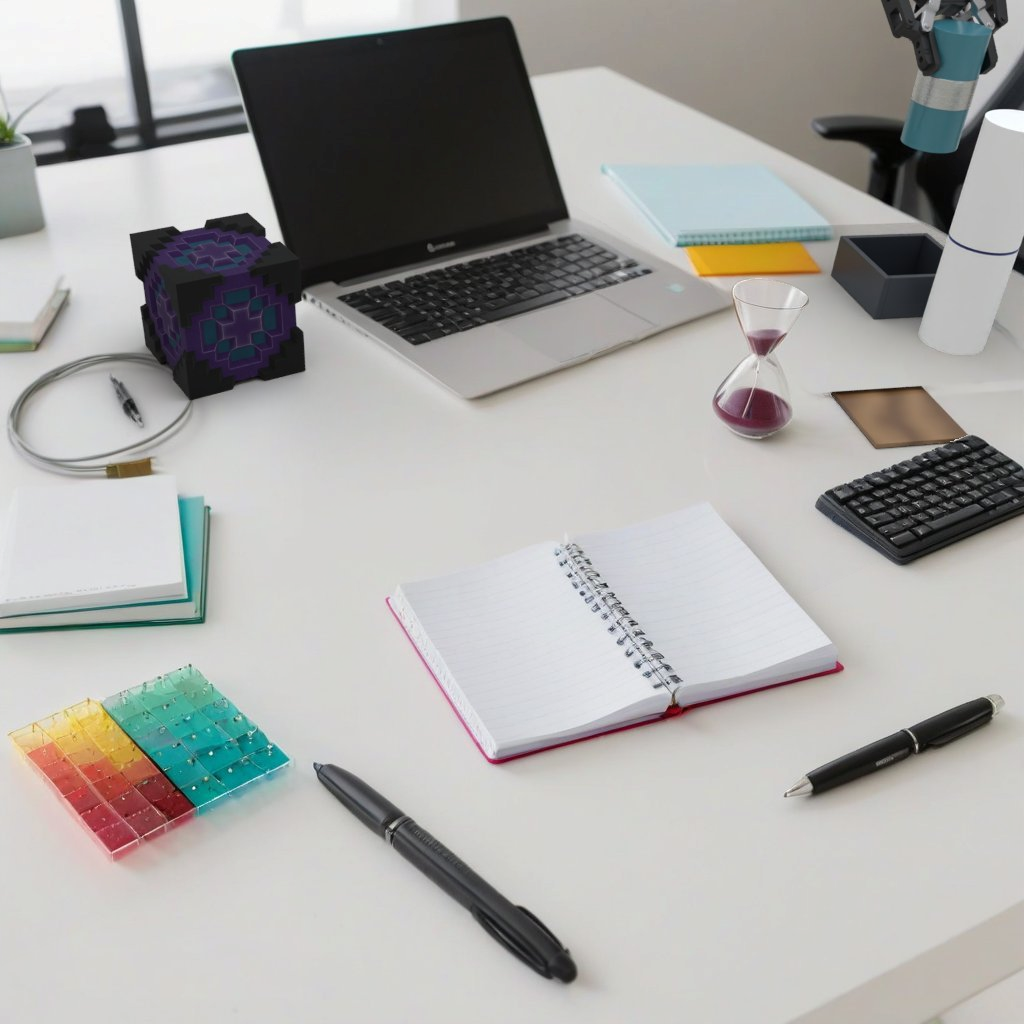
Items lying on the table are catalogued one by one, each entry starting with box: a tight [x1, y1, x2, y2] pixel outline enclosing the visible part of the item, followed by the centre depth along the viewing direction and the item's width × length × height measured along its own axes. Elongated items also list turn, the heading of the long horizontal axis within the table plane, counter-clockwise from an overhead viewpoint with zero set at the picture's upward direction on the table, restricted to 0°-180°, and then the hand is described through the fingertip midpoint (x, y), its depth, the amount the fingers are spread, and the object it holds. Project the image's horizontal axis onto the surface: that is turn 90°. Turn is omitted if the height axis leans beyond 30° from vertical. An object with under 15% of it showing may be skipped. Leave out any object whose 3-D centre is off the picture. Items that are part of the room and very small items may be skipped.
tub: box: [830, 232, 945, 321], centre depth 134 cm, size 11×11×6 cm
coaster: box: [830, 385, 969, 449], centre depth 115 cm, size 10×10×1 cm
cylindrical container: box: [917, 108, 1024, 356], centre depth 120 cm, size 7×7×25 cm
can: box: [900, 18, 992, 154], centre depth 121 cm, size 6×6×12 cm
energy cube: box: [129, 212, 306, 401], centre depth 112 cm, size 12×12×12 cm
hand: (960, 71), depth 118 cm, fingers closed on can, 6 cm apart
